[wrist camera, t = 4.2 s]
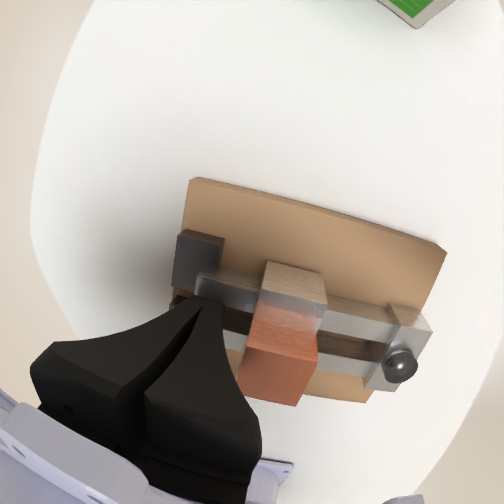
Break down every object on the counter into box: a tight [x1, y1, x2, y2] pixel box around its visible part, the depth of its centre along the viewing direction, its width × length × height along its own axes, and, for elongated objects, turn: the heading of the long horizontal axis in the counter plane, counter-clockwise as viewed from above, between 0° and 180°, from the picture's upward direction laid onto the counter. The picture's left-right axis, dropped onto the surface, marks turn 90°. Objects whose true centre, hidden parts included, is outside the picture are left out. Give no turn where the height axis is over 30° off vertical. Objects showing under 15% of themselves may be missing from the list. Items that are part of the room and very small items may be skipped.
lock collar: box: [236, 260, 328, 407], centre depth 11 cm, size 5×2×4 cm, turn 167°
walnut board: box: [172, 177, 447, 403], centre depth 14 cm, size 10×12×1 cm
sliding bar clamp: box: [169, 228, 433, 392], centre depth 12 cm, size 6×12×3 cm, turn 77°
